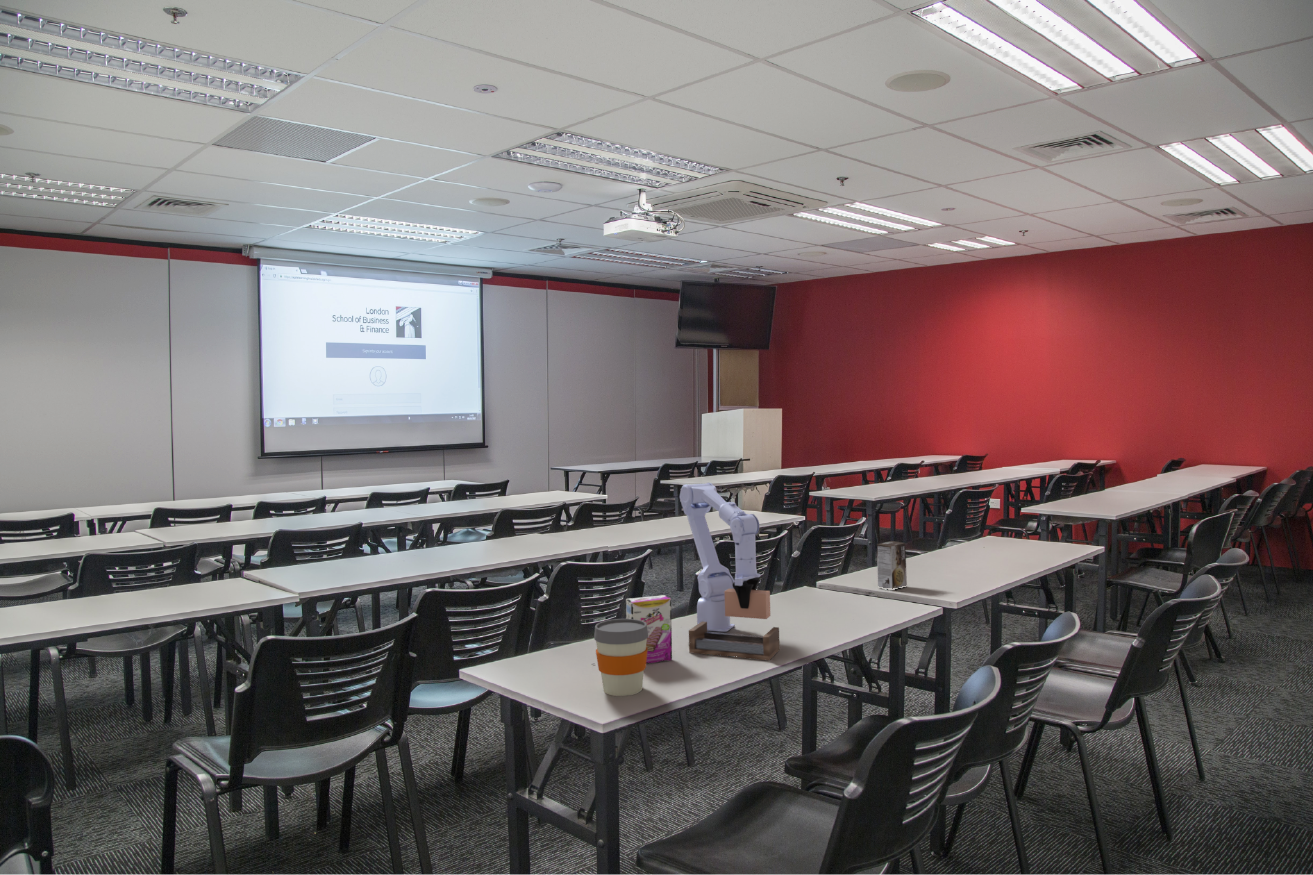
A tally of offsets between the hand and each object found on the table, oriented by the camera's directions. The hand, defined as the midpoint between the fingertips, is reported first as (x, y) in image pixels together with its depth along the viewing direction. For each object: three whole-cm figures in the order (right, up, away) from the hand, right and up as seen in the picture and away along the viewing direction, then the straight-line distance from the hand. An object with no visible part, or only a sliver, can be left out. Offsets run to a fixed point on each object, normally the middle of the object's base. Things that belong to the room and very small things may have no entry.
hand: (746, 606), depth 223 cm
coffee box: (+59, -7, +62) cm, 86 cm away
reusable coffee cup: (-33, -11, -39) cm, 52 cm away
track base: (-5, -10, -11) cm, 15 cm away
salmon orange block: (0, -3, 0) cm, 3 cm away
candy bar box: (-27, -11, -17) cm, 34 cm away
